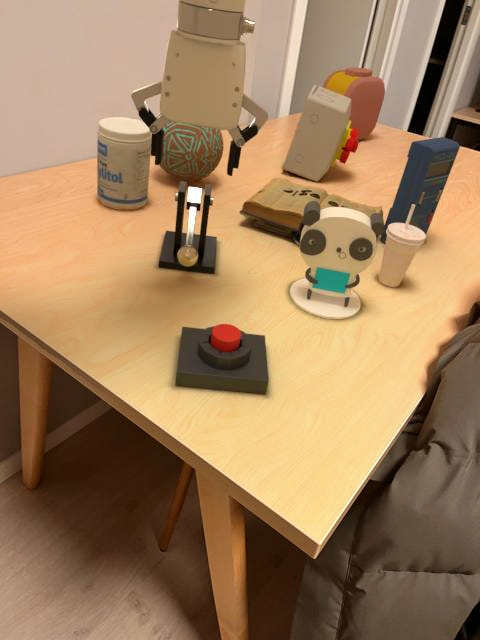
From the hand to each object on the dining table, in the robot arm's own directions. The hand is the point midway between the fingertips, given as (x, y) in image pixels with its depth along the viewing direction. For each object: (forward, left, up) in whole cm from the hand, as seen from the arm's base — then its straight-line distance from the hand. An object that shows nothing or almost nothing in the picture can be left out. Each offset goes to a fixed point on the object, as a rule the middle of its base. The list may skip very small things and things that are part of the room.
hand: (194, 167), depth 71 cm
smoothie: (+35, +8, -19) cm, 41 cm away
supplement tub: (-14, +27, -19) cm, 36 cm away
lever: (0, +6, -13) cm, 14 cm away
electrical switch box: (+29, +59, -19) cm, 69 cm away
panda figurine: (+22, 0, -19) cm, 29 cm away
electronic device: (+42, +25, -19) cm, 53 cm away
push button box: (+6, -19, -19) cm, 27 cm away
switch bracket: (0, +9, -19) cm, 21 cm away
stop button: (+6, -19, -15) cm, 25 cm away
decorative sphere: (-3, +43, -19) cm, 47 cm away
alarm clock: (+42, +95, -19) cm, 106 cm away
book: (+23, +25, -19) cm, 39 cm away
